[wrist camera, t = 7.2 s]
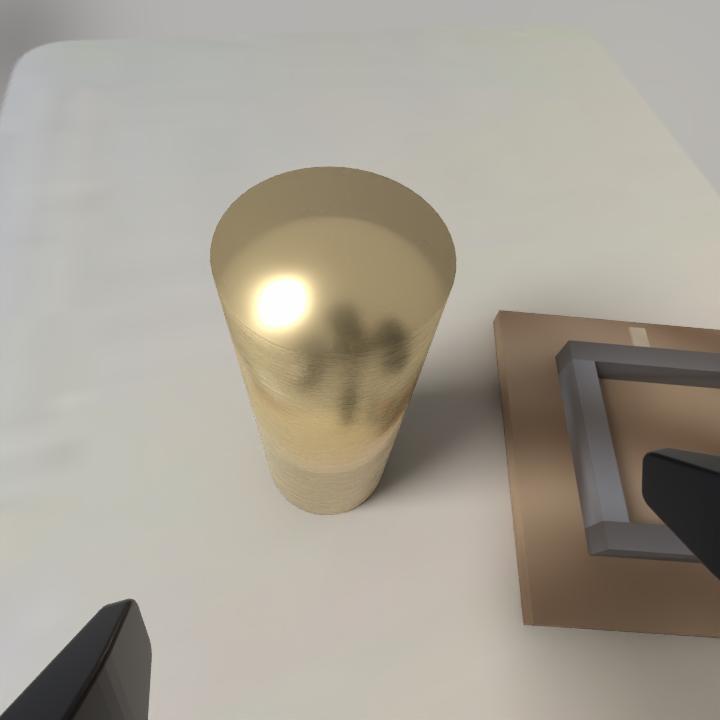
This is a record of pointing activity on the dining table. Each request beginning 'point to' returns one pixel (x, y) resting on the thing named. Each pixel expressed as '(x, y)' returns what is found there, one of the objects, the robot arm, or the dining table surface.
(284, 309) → the brass billet
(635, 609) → the brown board with frame
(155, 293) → the dining table surface
